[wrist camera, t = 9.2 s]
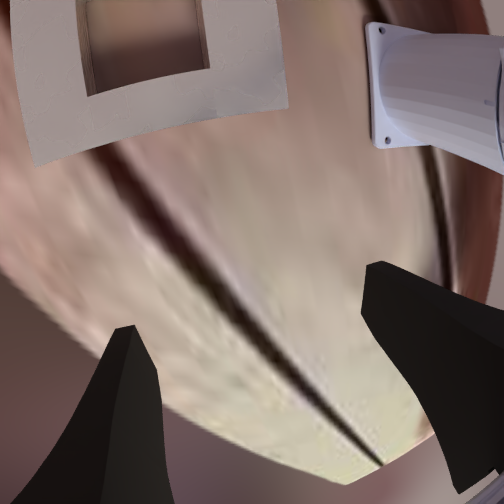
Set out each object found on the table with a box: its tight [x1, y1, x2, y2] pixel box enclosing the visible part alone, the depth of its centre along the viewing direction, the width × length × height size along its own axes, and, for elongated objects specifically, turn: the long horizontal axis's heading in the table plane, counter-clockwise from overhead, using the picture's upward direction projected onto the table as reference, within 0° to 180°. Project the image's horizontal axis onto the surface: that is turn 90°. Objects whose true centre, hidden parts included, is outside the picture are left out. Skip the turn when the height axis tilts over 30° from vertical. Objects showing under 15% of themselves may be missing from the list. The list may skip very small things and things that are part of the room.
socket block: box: [10, 0, 289, 168], centre depth 11 cm, size 12×10×2 cm
